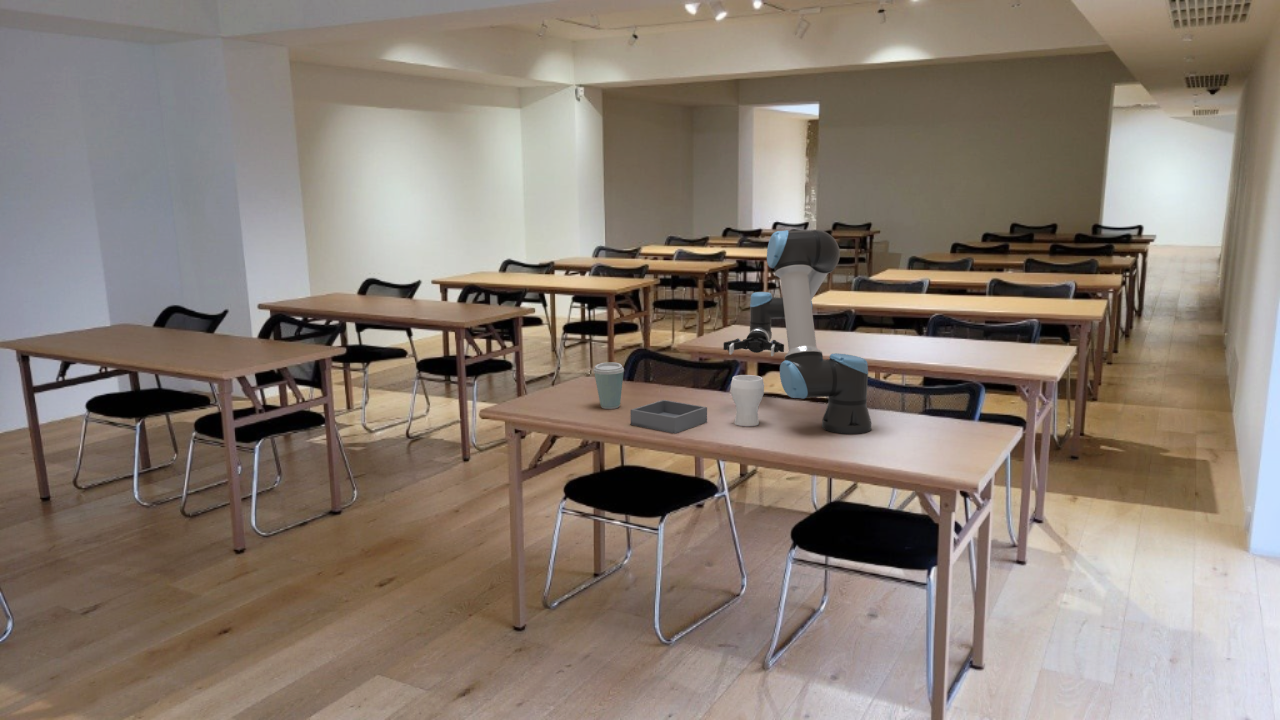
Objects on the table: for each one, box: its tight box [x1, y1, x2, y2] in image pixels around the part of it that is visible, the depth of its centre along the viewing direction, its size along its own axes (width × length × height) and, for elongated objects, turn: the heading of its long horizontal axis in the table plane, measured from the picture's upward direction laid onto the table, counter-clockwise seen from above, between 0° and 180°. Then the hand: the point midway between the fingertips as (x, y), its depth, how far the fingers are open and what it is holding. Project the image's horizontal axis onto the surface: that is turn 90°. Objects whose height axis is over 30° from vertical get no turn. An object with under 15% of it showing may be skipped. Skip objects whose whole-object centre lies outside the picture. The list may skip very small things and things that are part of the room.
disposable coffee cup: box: [593, 361, 625, 410], centre depth 316 cm, size 11×11×15 cm
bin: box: [630, 399, 708, 435], centre depth 295 cm, size 18×18×5 cm
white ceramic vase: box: [730, 374, 765, 427], centre depth 293 cm, size 11×11×15 cm
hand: (751, 351), depth 300 cm, fingers open, 13 cm apart
